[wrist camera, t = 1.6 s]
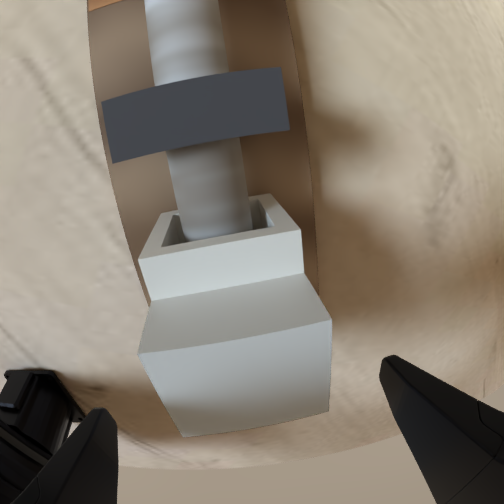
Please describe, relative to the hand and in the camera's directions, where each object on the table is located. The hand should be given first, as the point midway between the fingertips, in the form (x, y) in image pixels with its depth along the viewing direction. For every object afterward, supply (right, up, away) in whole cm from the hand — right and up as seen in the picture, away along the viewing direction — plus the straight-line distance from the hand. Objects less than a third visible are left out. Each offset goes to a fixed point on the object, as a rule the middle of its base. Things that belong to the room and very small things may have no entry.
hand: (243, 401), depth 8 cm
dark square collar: (-2, +11, +5) cm, 12 cm away
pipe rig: (-2, +11, +6) cm, 13 cm away
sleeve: (-1, +4, +7) cm, 9 cm away
